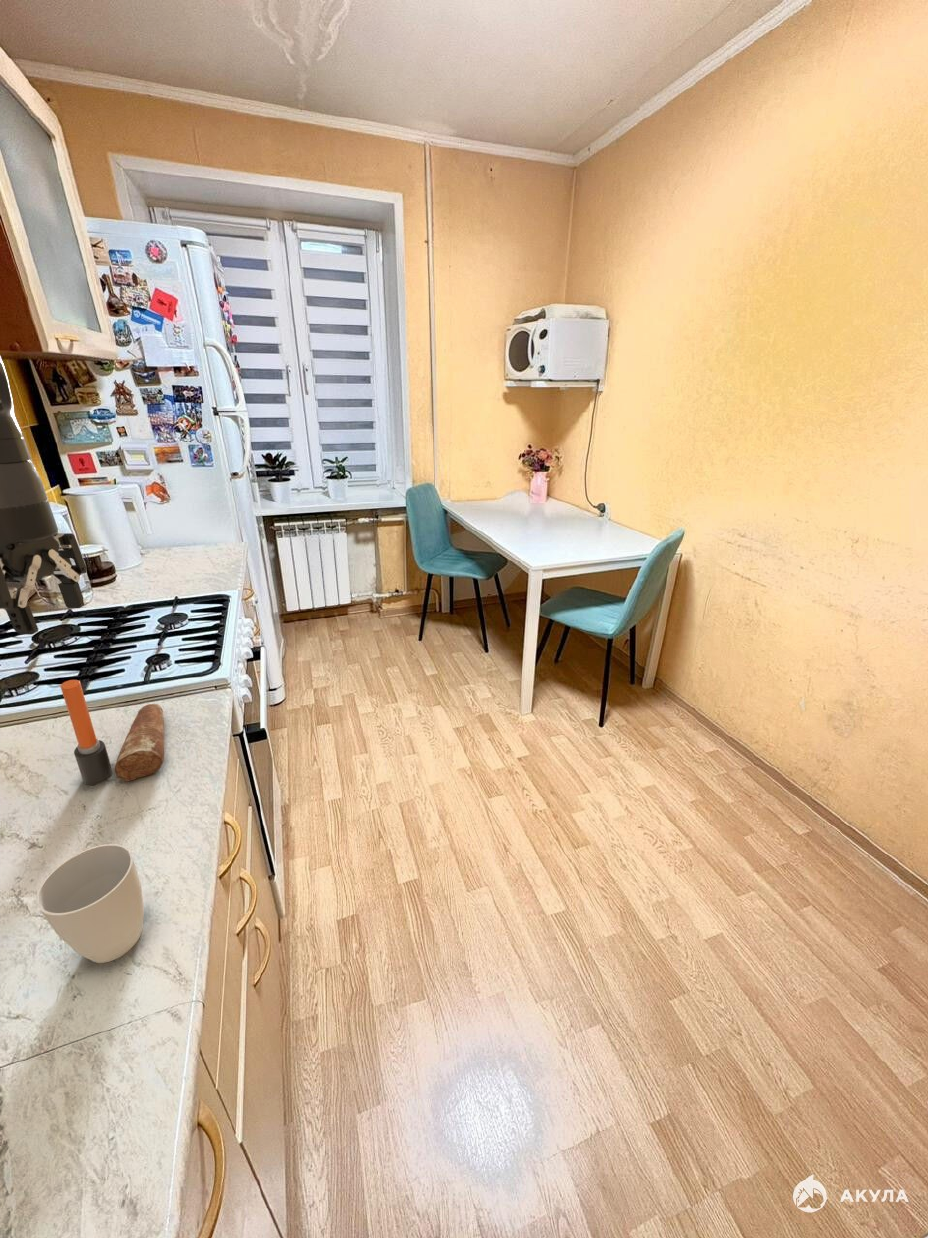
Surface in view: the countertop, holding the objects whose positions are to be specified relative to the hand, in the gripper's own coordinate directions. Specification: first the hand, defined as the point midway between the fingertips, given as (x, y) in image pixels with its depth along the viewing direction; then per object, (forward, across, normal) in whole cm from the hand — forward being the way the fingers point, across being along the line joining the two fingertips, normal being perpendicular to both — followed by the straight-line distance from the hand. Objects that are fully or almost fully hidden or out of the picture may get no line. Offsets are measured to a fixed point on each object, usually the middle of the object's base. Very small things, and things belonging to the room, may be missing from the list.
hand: (53, 619), depth 68 cm
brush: (+27, +1, -1) cm, 27 cm away
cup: (+27, +27, +18) cm, 42 cm away
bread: (+27, -6, +2) cm, 28 cm away
